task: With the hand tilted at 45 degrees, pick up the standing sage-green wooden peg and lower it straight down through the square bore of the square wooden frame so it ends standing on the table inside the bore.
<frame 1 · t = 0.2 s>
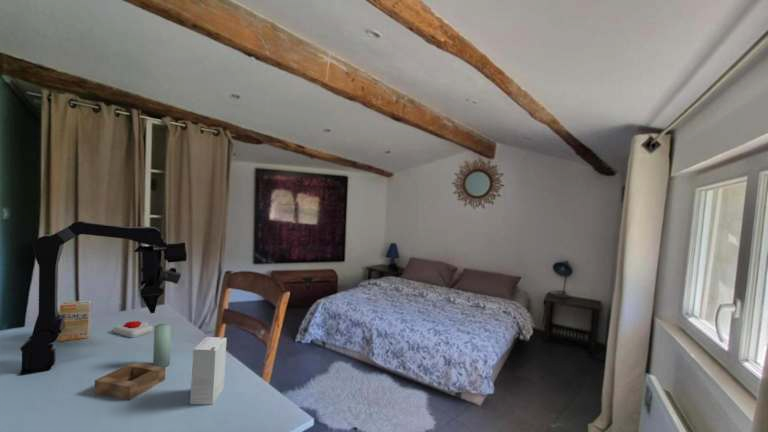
hand: (152, 309, 119), 14 cm above the table, tool pointing down, fingers open, 9 cm apart
skincare box: (208, 397, 93), on the table
supplement box: (74, 338, 126), on the table
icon: (135, 333, 135), on the table
square wooden frame: (131, 386, 96), on the table
sage peg: (161, 365, 109), on the table
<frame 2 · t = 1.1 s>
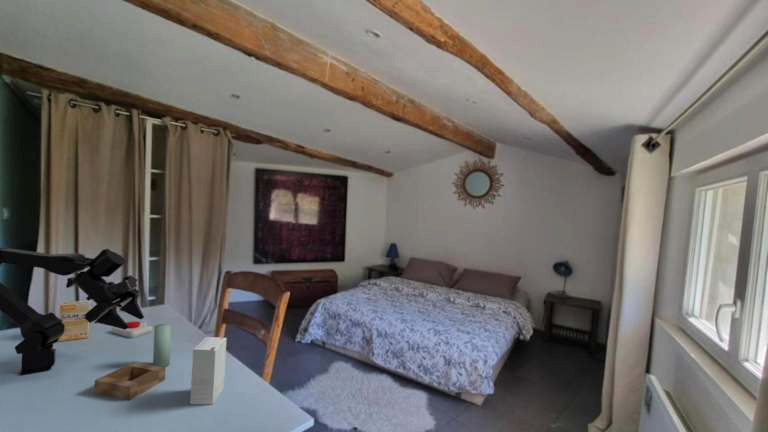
hand: (135, 323, 107), 13 cm above the table, tool tilted 45°, fingers open, 9 cm apart
nothing on the table moved.
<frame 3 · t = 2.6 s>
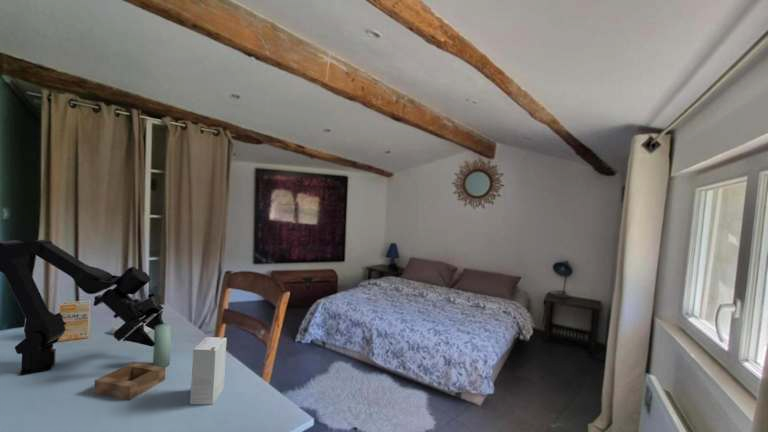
hand: (160, 339, 109), 8 cm above the table, tool tilted 45°, fingers open, 9 cm apart
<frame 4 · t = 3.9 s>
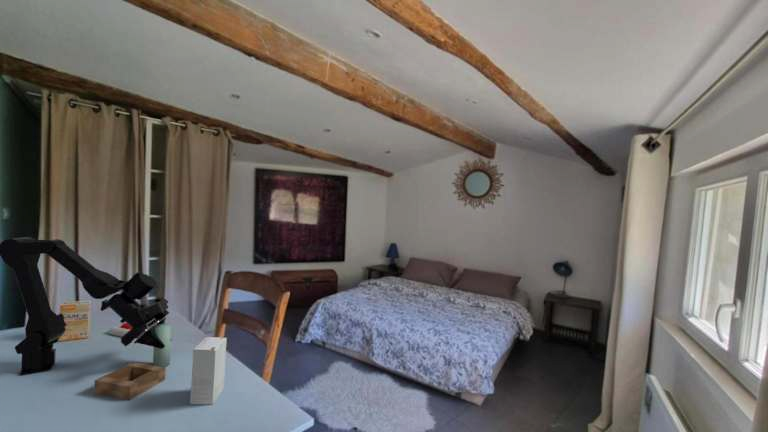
hand: (167, 344, 109), 7 cm above the table, tool tilted 45°, fingers closed on sage peg, 4 cm apart
sage peg: (161, 365, 109), on the table, touching gripper
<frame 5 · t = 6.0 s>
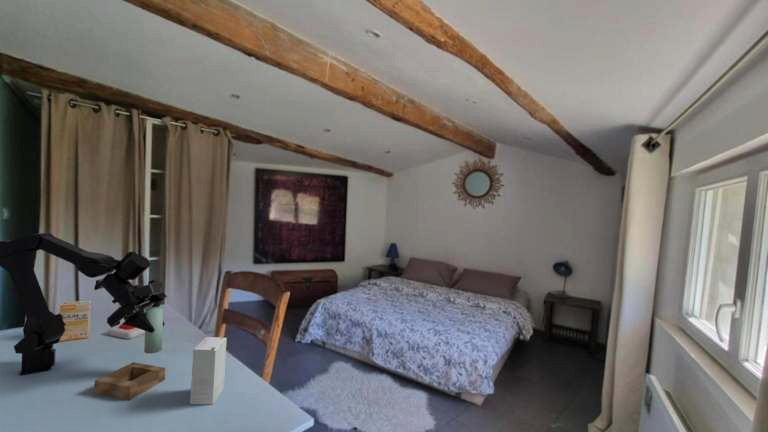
hand: (158, 328, 104), 13 cm above the table, tool tilted 45°, fingers closed on sage peg, 4 cm apart
sage peg: (153, 350, 104), point 7 cm above the table, touching gripper
when the fingers open (8 cm above the table, at t = 8.3 s): sage peg drops 1 cm, resting in square wooden frame.
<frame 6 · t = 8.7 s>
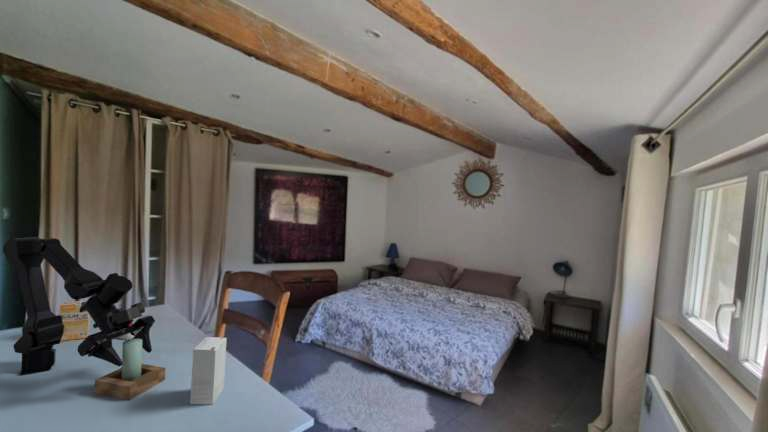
hand: (136, 358, 96), 8 cm above the table, tool tilted 45°, fingers open, 9 cm apart
sage peg: (131, 386, 96), resting in square wooden frame
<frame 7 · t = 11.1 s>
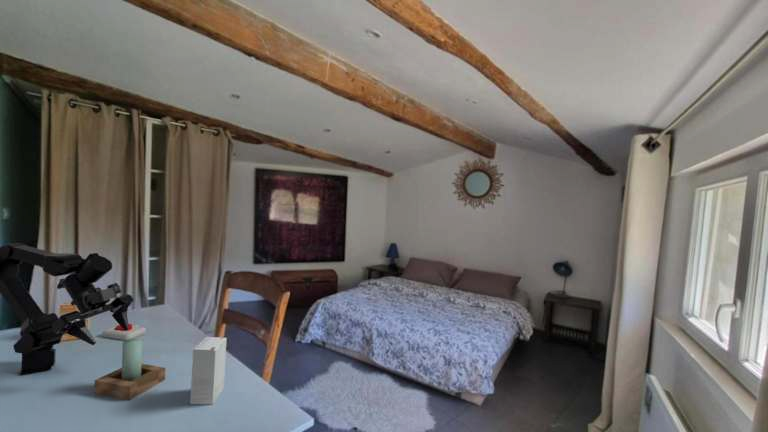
hand: (111, 336, 99), 12 cm above the table, tool tilted 40°, fingers open, 9 cm apart
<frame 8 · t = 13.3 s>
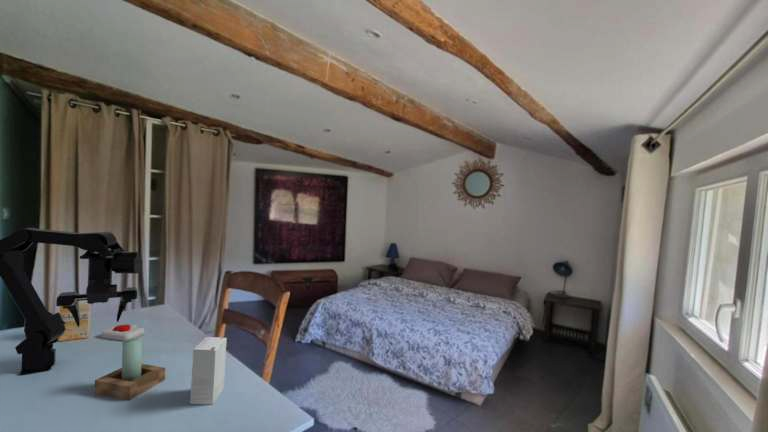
hand: (98, 323, 106), 13 cm above the table, tool pointing down, fingers open, 9 cm apart
at the end: sage peg 0.0 cm off-centre on the square wooden frame, point 0.0 cm above the square wooden frame's base; sage peg tilted 0°; the gripper is holding nothing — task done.
